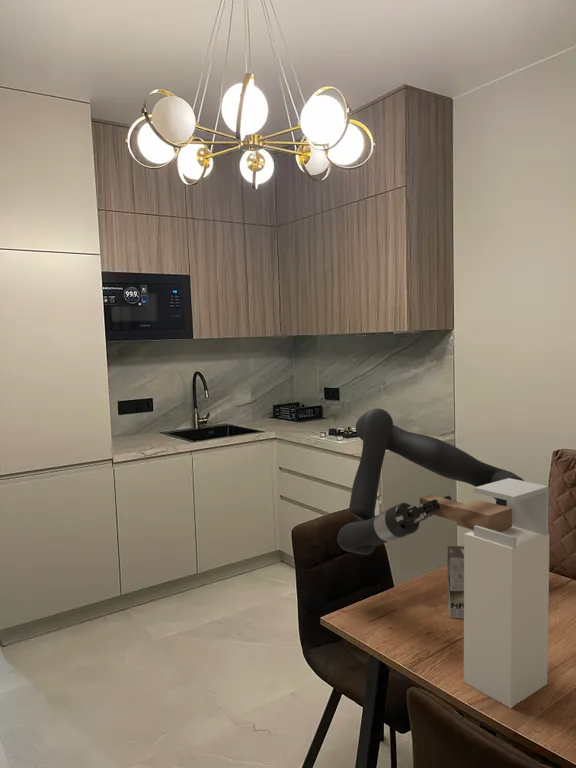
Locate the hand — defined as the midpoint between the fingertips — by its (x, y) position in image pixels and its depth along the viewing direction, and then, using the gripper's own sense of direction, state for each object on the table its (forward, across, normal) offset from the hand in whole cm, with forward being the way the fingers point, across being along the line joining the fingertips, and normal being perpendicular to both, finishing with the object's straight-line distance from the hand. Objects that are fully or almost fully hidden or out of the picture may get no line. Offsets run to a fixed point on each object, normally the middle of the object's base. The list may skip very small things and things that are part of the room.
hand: (444, 501), depth 132 cm
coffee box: (-26, +19, +26) cm, 41 cm away
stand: (-4, 0, +38) cm, 39 cm away
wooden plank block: (+3, 0, +5) cm, 5 cm away
